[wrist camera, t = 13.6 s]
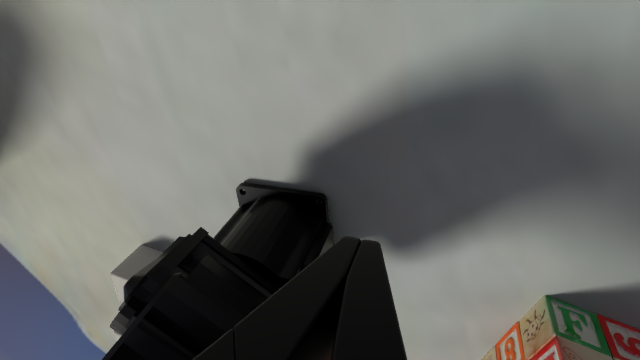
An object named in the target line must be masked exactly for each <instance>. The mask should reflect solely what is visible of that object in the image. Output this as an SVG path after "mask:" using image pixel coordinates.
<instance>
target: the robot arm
mask: <svg viewBox="0 0 640 360" xmlns="http://www.w3.org/2000/svg"><path fill="white" fill-rule="evenodd" d="M243 189H244V190H245V191H246V192H244V191H243ZM236 192H237V197H238V202H239V206H240V208H239V209H238V210H237V211H236V212H235V214H234V215H233V216H232V217H231V218H230V219H229V221H228V222H227V223H226V224H225V225H224V226H223V228H222V229H221V230H220V231H219V232H218V233H217V235H216V236H215V237H214V238H212V237H211V236H209V235H208V232H207V231H206V230H204V229H203V228H202V227H200V228H199V229H198V230H197V231H196V232H195V233H194V234H193V235H190V234H189V235H187V236H186V237H178V238H177V240H176V241H175V242H174V243H173V244H172V245H171V246H170V247H169V248H168V249H167V250H166V251H165V252H164V253H163V254H161V255H160V256H159V257H158V258H157V259H155V260H154V261H153V262H151V263H150V264H148V265H147V266H146V267H144V268H143V269H142V270H140V271H139V272H137V273H136V274H135V275H133V276H132V277H131V278H130V279H129V280H128V281H127V282H126V284H125V285H124V302H123V303H122V304H121V306H120V307H119V311H120V312H119V313H118V314H117V316H116V317H115V318H114V320H113V321H112V323H111V325H110V327H111V328H112V329H113V330H115V331H116V332H118V333H119V334H122V336H121V337H120V338H119V340H118V341H117V342H116V343H115V344H114V346H113V347H112V348H111V349H110V350H109V352H108V353H107V354H106V355H105V357H104V358H103V359H102V360H407V357H406V352H405V348H404V344H403V340H402V335H401V331H400V327H399V322H398V318H397V314H396V310H395V305H394V301H393V297H392V292H391V288H390V284H389V280H388V275H387V271H386V267H385V262H384V258H383V254H382V250H381V245H380V243H379V242H377V241H372V240H366V239H364V240H362V241H361V240H360V239H359V238H354V237H348V236H344V237H342V238H341V239H340V240H339V241H337V242H336V243H335V244H334V241H333V226H332V225H331V223H329V219H328V200H327V197H326V196H325V195H324V194H322V193H316V192H309V191H301V190H294V189H286V188H279V187H271V186H264V185H256V184H249V183H241V184H240V185H239V186H238V187H237V188H236ZM317 199H318V200H320V201H321V203H320V202H318V201H317Z"/></svg>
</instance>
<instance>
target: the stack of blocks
mask: <svg viewBox="0 0 640 360" xmlns="http://www.w3.org/2000/svg"><path fill="white" fill-rule="evenodd" d="M481 360H640V330H638V329H635V328H633V327H630V326H628V325H625V324H622V323H620V322H617V321H614V320H611V319H609V318H606V317H603V316H601V315H597V314H594V313H591V312H588V311H586V310H583V309H580V308H578V307H575V306H573V305H570V304H567V303H565V302H562V301H559V300H557V299H554V298H552V297H549V296H546V295H545V296H543V297H542V298H541V299H540V300H539V301H538V302H537V303H536V304H535V305H534V307H533V308H532V309H531V310H530V311H529V312H528V313H527V314H526V315H525V316H524V317H523V318H522V319H521V320H520V321H519V322H517V323H516V324H515V325H514V326H513V327H512V328H511V329H510V330H509V331H508V332H507V333H506V334H505V335H504V336H503V337H502V338H501V340H500V341H499V342H498V343H497V344H496V345H495V346H494V347H493V348H492V349H491V350H490V351H489V352H488V353H487V354H486V355H485V356H484V357H483V358H482V359H481Z"/></svg>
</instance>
